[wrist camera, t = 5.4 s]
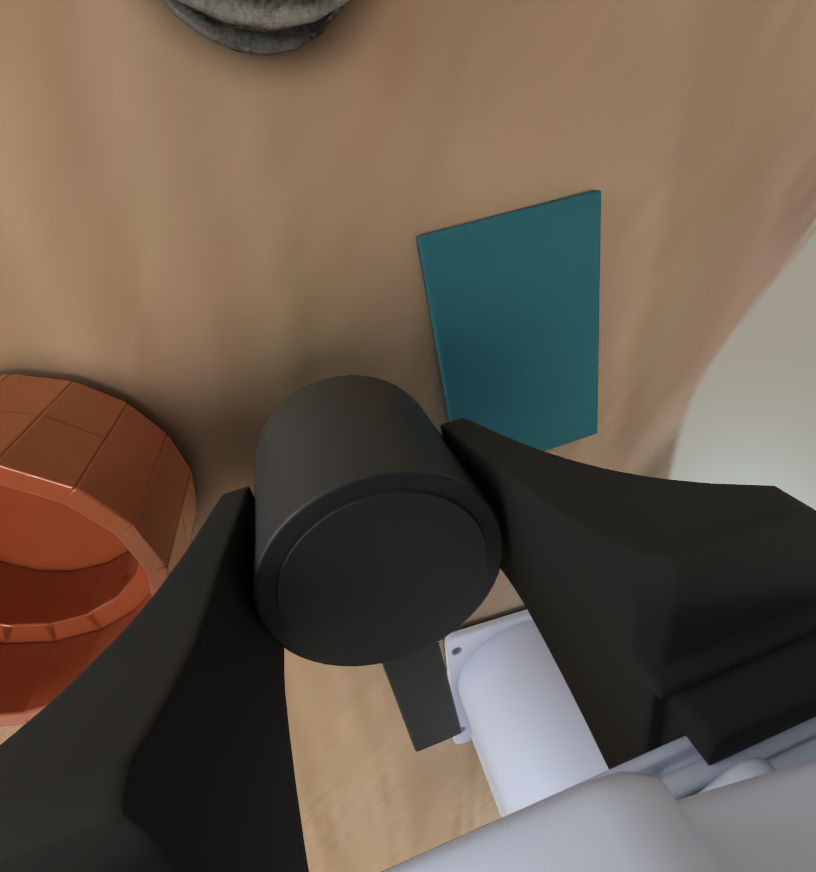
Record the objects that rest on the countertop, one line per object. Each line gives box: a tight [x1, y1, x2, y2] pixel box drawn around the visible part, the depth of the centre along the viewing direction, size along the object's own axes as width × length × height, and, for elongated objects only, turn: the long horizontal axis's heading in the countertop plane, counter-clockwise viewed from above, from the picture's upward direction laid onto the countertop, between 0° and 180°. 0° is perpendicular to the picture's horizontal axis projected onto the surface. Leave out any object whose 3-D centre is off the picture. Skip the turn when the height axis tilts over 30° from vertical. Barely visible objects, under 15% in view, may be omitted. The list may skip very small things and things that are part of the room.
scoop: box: [253, 375, 503, 751], centre depth 12 cm, size 10×5×5 cm, turn 12°
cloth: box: [417, 190, 601, 451], centre depth 17 cm, size 6×9×1 cm, turn 12°
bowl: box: [0, 374, 197, 727], centre depth 13 cm, size 8×8×5 cm
